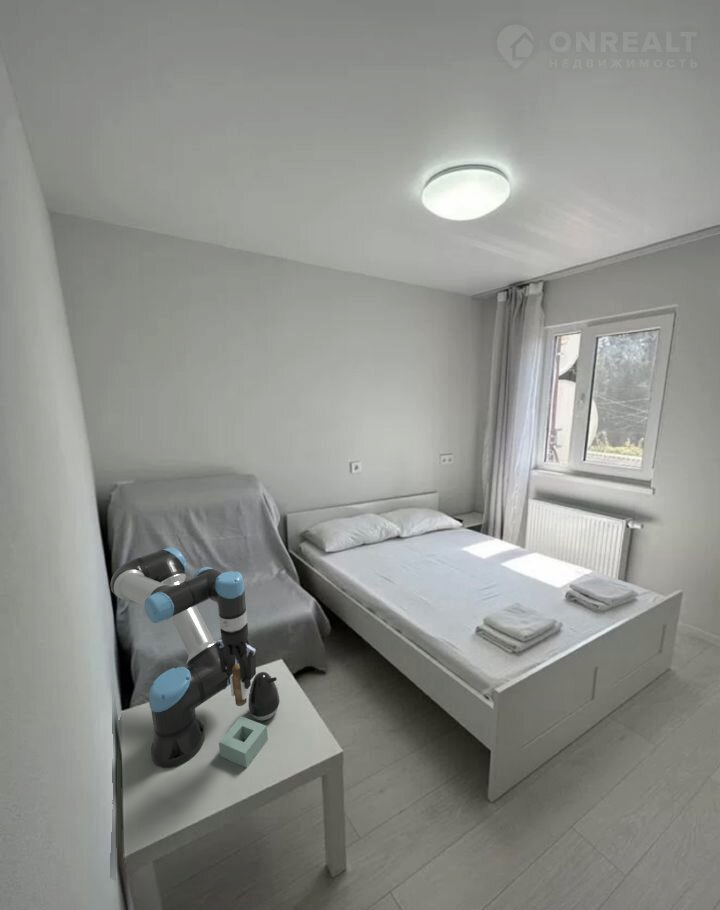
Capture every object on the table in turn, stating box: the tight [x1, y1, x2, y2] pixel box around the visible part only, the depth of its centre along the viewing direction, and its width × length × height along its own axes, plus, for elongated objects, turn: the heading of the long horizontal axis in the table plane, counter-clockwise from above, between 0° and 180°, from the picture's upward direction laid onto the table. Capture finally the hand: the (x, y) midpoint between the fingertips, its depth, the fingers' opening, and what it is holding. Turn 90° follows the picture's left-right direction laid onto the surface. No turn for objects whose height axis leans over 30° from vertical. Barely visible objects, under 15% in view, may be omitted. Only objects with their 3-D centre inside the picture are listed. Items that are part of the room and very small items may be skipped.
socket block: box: [218, 716, 269, 769], centre depth 122 cm, size 10×10×5 cm
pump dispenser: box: [247, 671, 281, 721], centre depth 133 cm, size 10×10×15 cm
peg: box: [232, 663, 248, 707], centre depth 119 cm, size 3×3×12 cm
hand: (240, 694), depth 120 cm, fingers closed on peg, 3 cm apart
